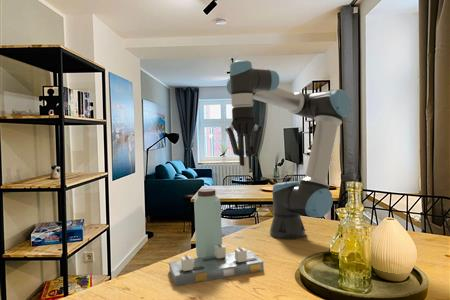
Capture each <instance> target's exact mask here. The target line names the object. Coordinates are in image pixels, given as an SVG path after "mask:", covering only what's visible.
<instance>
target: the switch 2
mask: <svg viewBox="0 0 450 300" xmlns="http://www.w3.org/2000/svg"><path fill="white" fill-rule="evenodd" d="M226 251H227V250H226V246H225V245H224V244H223V243H222V245H220V244H218V245H215V256H216V258H224V257H226V254H227V253H226Z"/></svg>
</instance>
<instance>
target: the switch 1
mask: <svg viewBox="0 0 450 300" xmlns="http://www.w3.org/2000/svg"><path fill="white" fill-rule="evenodd" d="M192 259H193V257H192V256H191V255H187V254H185V255H184V256H180V261H181V266H182V270H183V271H187V270H193V262H192Z"/></svg>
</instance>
